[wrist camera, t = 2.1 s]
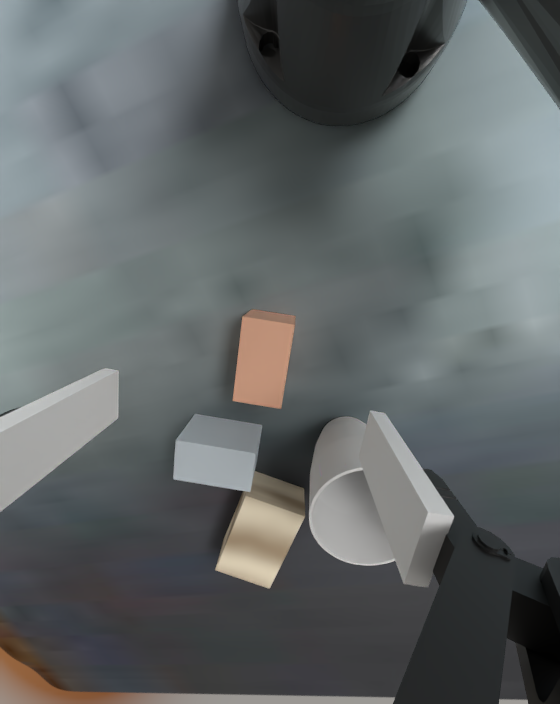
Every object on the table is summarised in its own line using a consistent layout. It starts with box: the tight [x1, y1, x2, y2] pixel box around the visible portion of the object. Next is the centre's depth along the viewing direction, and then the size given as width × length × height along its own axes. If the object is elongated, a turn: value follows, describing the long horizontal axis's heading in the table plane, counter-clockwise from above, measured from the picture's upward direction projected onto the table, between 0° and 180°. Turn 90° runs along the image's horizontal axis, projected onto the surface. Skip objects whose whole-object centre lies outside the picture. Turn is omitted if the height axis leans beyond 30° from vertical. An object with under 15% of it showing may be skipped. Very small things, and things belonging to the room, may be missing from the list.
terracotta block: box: [233, 309, 295, 409], centre depth 25 cm, size 7×4×5 cm, turn 171°
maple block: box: [215, 471, 305, 589], centre depth 31 cm, size 10×6×4 cm, turn 160°
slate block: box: [173, 414, 262, 492], centre depth 28 cm, size 7×4×5 cm, turn 81°
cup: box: [309, 417, 395, 565], centre depth 24 cm, size 8×8×10 cm
